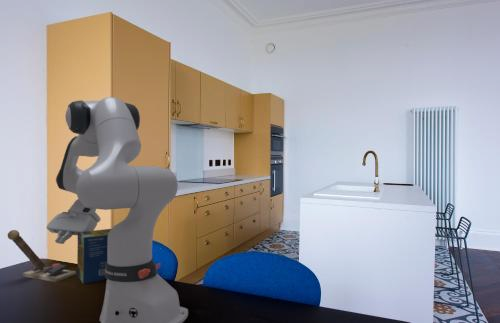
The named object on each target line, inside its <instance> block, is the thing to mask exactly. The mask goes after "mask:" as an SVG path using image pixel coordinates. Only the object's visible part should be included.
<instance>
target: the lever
mask: <svg viewBox="0 0 500 323" xmlns="http://www.w3.org/2000/svg"><path fill="white" fill-rule="evenodd" d="M7 238H8V239H9V240H11V241H12V242H13V243H14V244H15V246H17V247H18V249H19V250H20V251H21V252H22V253H23V254H24V255H25V257H27V259H28V260H29V261H30V262H31V263H32V264H33V265H34V267H36V268H37V269H38V270H43V269H44V268H47V267H48V266H46V264H45V263H44V262H43V261H42V260H41V258H40V257H39V256H38V255H37V254H36V252H35V251H34V250H33V248H31V247H30V246H29V245H28V243H27V242H26V241H25V240H24V238H23V237H22V236H21V235H20V232H19V231H18V230H16V229H12V230H10V231H9V232H8V233H7Z"/></svg>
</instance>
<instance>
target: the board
mask: <svg viewBox="0 0 500 323" xmlns="http://www.w3.org/2000/svg"><path fill="white" fill-rule="evenodd" d="M46 267H47V268H44V269H43V270H38V269H37V268H36V267H35V266H32V269H31V270H28V271H24V272H22V276H21V277H24V278H30V279H36V280H42V281H48V282H53V283H57V282H60V281H63V280H66V279H69V278H71V277H74V276H76V275H77V271H75V270H69V269H65V270H63V271H61V272H59V273H57V274H55V275H53V274H49V272H48V271H49V270H51V269H52V266H46ZM75 274H76V275H75ZM73 275H74V276H73ZM70 276H71V277H70ZM68 277H69V278H68Z"/></svg>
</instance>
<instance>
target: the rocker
mask: <svg viewBox="0 0 500 323" xmlns="http://www.w3.org/2000/svg"><path fill="white" fill-rule="evenodd" d="M67 269H68V267H67V265H66V264H60V265H59V266H57V267H55V268H53V269H51V270H49V271H48V272H49V274H53V275H55V274H57V273H59V272H61V271H63V270H67Z"/></svg>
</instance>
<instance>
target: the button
mask: <svg viewBox="0 0 500 323" xmlns="http://www.w3.org/2000/svg"><path fill="white" fill-rule="evenodd" d="M59 265H61V263H52V264H51V267H52V269H53V268H55V267H57V266H59Z"/></svg>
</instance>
